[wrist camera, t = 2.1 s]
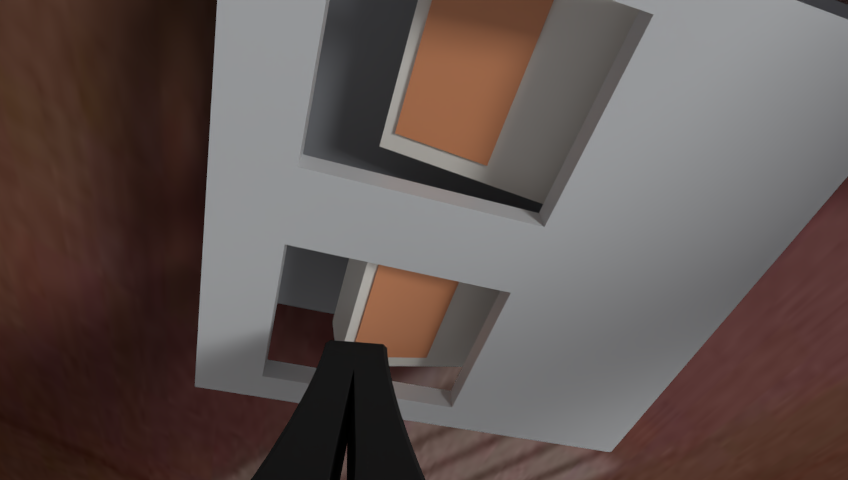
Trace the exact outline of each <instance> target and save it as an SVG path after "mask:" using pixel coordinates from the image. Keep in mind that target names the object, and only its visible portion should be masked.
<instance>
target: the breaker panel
mask: <svg viewBox="0 0 848 480" xmlns="http://www.w3.org/2000/svg"><path fill="white" fill-rule="evenodd" d="M613 1H616V2H619V3H622V4H625V5H628V6H630V7H633V8H636V9H639V12H638V14H637V16H636V18H635V20H634V22H633V24H632V26H631V28H630V30H629V32H628V34H627V36H626V38H625V40H624V42H623V44H622V46H621V48H620V50H619V52H618V54H617V56H616V58H615V60H614V62H613V64H612V66H611V68H610V71H609V73H608V75H607V77H606V79H605V81H604V83H603V85H602V87H601V89H600V91H599V93H598V95H597V97H596V99H595V101H594V103H593V105H592V107H591V109H590V111H589V113H588V115H587V117H586V119H585V121H584V123H583V125H582V127H581V129H580V131H579V133H578V135H577V137H576V139H575V141H574V143H573V145H572V147H571V149H570V151H569V153H568V155H567V157H566V159H565V161H564V163H563V165H562V167H561V169H560V171H559V173H558V175H557V177H556V179H555V181H554V183H553V185H552V187H551V189H550V191H549V194H548V196H547V198H546V200H545V202H544V204H541V203H539V202H536V201H533V200H530V199H527V198H524V197H522V196H519V195H516V194H513V193H510V192H507V191H505V190H502V189H499V188H496V187H493V186H490V185H488V184H485V183H482V182H479V181H476V180H473V179H471V178H468V177H465V176H462V175H459V174H456V173H454V172H451V171H448V170H445V169H442V168H439V167H437V166H434V165H431V164H428V163H425V162H422V161H420V160H417V159H414V158H411V157H408V156H405V155H403V154H400V153H397V152H394V151H391V150H389V149H386V148H383V147H380V142H381V138H382V135H383V131H384V127H385V123H386V119H387V116H388V112H389V108H390V104H391V100H392V97H393V93H394V89H395V85H396V81H397V78H398V74H399V70H400V66H401V63H402V59H403V55H404V51H405V47H406V44H407V40H408V36H409V32H410V28H411V25H412V21H413V17H414V13H415V10H416V6H417V2H418V0H217V13H216V30H215V48H214V65H213V82H212V99H211V116H210V133H209V150H208V168H207V185H206V202H205V219H204V236H203V253H202V270H201V287H200V305H199V322H198V339H197V356H196V373H195V387H201V388H207V389H213V390H220V391H226V392H232V393H239V394H245V395H251V396H258V397H264V398H270V399H277V400H283V401H289V402H296V403H299V402H300V401H301V399H302V397H303V395H304V393H305V392H306V390H307V388H308V386H309V383H310V381H311V379H312V377H313V375H314V373H315V371H316V369H317V368H314V367H308V366H302V365H296V364H290V363H284V362H279V361H273V360H267V358H268V353H269V347H270V341H271V335H272V330H273V324H274V318H275V312H276V307H277V303H279V304H285V305H290V306H295V307H300V308H305V309H310V310H316V311H321V312H326V313H331V314H335V310H336V306H337V303H338V299H339V295H340V291H341V287H342V284H343V280H344V276H345V272H346V268H347V265H348V261H349V258H351V259H355V260H360V261H365V262H369V263H374V264H379V265H383V266H388V267H393V268H397V269H402V270H406V271H411V272H416V273H420V274H425V275H430V276H434V277H439V278H444V279H448V280H453V281H458V282H462V283H467V284H472V285H476V286H481V287H486V288H490V289H495V290H500V292H499V294H498V296H497V298H496V300H495V302H494V304H493V306H492V308H491V310H490V312H489V314H488V317H487V319H486V321H485V323H484V325H483V327H482V329H481V331H480V333H479V335H478V337H477V339H476V341H475V343H474V345H473V347H472V349H471V351H470V353H469V355H468V357H467V359H466V361H465V363H464V365H463V367H462V369H461V371H460V373H459V375H458V377H457V379H456V381H455V383H454V385H453V387H452V389H451V391H447V390H442V389H436V388H430V387H424V386H418V385H413V384H407V383H401V382H395V381H392V383H393V387H394V391H395V395H396V399H397V402H398V406H399V409H400V412H401V415H402V418H403V420H410V421H416V422H422V423H429V424H435V425H441V426H448V427H454V428H460V429H467V430H473V431H479V432H486V433H492V434H498V435H505V436H511V437H517V438H524V439H530V440H536V441H543V442H549V443H555V444H562V445H568V446H574V447H581V448H587V449H593V450H600V451H606V452H611V451H612V450H613V449H614V448H615V447H616V445H617V444H618V443H619V442H620V441H621V440H622V438H623V437H624V436H625V435H626V434H627V433H628V431H629V430H630V429H631V428H632V427H633V426H634V424H635V423H636V422H637V421H638V420H639V419H640V417H641V416H642V415H643V414H644V413H645V412H646V410H647V409H648V408H649V407H650V406H651V405H652V403H653V402H654V401H655V400H656V399H657V398H658V396H659V395H660V394H661V393H662V392H663V391H664V389H665V388H666V387H667V386H668V385H669V384H670V383H671V381H672V380H673V379H674V378H675V377H676V376H677V374H678V373H679V372H680V371H681V370H682V369H683V367H684V366H685V365H686V364H687V363H688V362H689V360H690V359H691V358H692V357H693V356H694V355H695V353H696V352H697V351H698V350H699V349H700V348H701V346H702V345H703V344H704V343H705V342H706V341H707V339H708V338H709V337H710V336H711V335H712V334H713V332H714V331H715V330H716V329H717V328H718V327H719V325H720V324H721V323H722V322H723V321H724V320H725V319H726V317H727V316H728V315H729V314H730V313H731V312H732V310H733V309H734V308H735V307H736V306H737V305H738V303H739V302H740V301H741V300H742V299H743V298H744V296H745V295H746V294H747V293H748V292H749V291H750V289H751V288H752V287H753V286H754V285H755V284H756V282H757V281H758V280H759V279H760V278H761V277H762V275H763V274H764V273H765V272H766V271H767V270H768V268H769V267H770V266H771V265H772V264H773V263H774V261H775V260H776V259H777V258H778V257H779V256H780V254H781V253H782V252H783V251H784V250H785V249H786V248H787V246H788V245H789V244H790V243H791V242H792V241H793V239H794V238H795V237H796V236H797V235H798V234H799V232H800V231H801V230H802V229H803V228H804V227H805V225H806V224H807V223H808V222H809V221H810V220H811V218H812V217H813V216H814V215H815V214H816V213H817V211H818V210H819V209H820V208H821V207H822V206H823V204H824V203H825V202H826V201H827V200H828V199H829V197H830V196H831V195H832V194H833V193H834V192H835V190H836V189H837V188H838V187H839V186H840V185H841V184H842V182H843V181H844V180H845V179H846V178H847V177H848V5H847V4H844V3H842V2H839V1H836V0H613Z"/></svg>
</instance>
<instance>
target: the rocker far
mask: <svg viewBox="0 0 848 480" xmlns="http://www.w3.org/2000/svg"><path fill="white" fill-rule="evenodd" d="M499 292H500V290H495V289H490V288H486V287H481V286H476V285H472V284H467V283H462V282H458V281H453V280H448V279H444V278H439V277H434V276H430V275H425V274H420V273H416V272H411V271H406V270H402V269H397V268H393V267H388V266H383V265H379V264H374V263H369V262H365V261H360V260H355V259H351V258H349V261H348V265H347V268H346V272H345V276H344V280H343V284H342V287H341V291H340V295H339V299H338V303H337V306H336V310H335V314H334V318H333V322H332V323H333V332H334V340H335V341H349V342H362V343H375V344H384V345H385V346H386V347H387V354H388V362H389V366H449V367H463V365H464V363H465V361H466V359H467V357H468V355H469V353H470V351H471V349H472V347H473V345H474V343H475V341H476V339H477V337H478V335H479V333H480V331H481V329H482V327H483V325H484V323H485V321H486V319H487V317H488V314H489V312H490V310H491V308H492V306H493V304H494V302H495V300H496V298H497V296H498V294H499Z"/></svg>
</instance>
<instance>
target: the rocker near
mask: <svg viewBox="0 0 848 480" xmlns="http://www.w3.org/2000/svg"><path fill="white" fill-rule="evenodd" d="M638 12H639V9H636V8H633V7H630V6H628V5H625V4H622V3H619V2H616V1H613V0H418V2H417V6H416V10H415V13H414V17H413V21H412V25H411V28H410V32H409V36H408V40H407V44H406V47H405V51H404V55H403V59H402V63H401V66H400V70H399V74H398V78H397V81H396V85H395V89H394V93H393V97H392V100H391V104H390V108H389V112H388V116H387V119H386V123H385V127H384V131H383V135H382V138H381V142H380V147H383V148H386V149H389V150H391V151H394V152H397V153H400V154H403V155H405V156H408V157H411V158H414V159H417V160H420V161H422V162H425V163H428V164H431V165H434V166H437V167H439V168H442V169H445V170H448V171H451V172H454V173H456V174H459V175H462V176H465V177H468V178H471V179H473V180H476V181H479V182H482V183H485V184H488V185H490V186H493V187H496V188H499V189H502V190H505V191H507V192H510V193H513V194H516V195H519V196H522V197H524V198H527V199H530V200H533V201H536V202H539V203H541V204H544V202H545V200H546V198H547V196H548V194H549V191H550V189H551V187H552V185H553V183H554V181H555V179H556V177H557V175H558V173H559V171H560V169H561V167H562V165H563V163H564V161H565V159H566V157H567V155H568V153H569V151H570V149H571V147H572V145H573V143H574V141H575V139H576V137H577V135H578V133H579V131H580V129H581V127H582V125H583V123H584V121H585V119H586V117H587V115H588V113H589V111H590V109H591V107H592V105H593V103H594V101H595V99H596V97H597V95H598V93H599V91H600V89H601V87H602V85H603V83H604V81H605V79H606V77H607V75H608V73H609V71H610V68H611V66H612V64H613V62H614V60H615V58H616V56H617V54H618V52H619V50H620V48H621V46H622V44H623V42H624V40H625V38H626V36H627V34H628V32H629V30H630V28H631V26H632V24H633V22H634V20H635V18H636V16H637V14H638Z"/></svg>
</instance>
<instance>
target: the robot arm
mask: <svg viewBox="0 0 848 480" xmlns="http://www.w3.org/2000/svg"><path fill="white" fill-rule="evenodd" d="M346 446H347V480H425V478H424V475H423V473H422V470H421V468H420V466H419V463H418V461H417V458H416V455H415V453H414V450H413V448H412V445H411V442H410V439H409V437H408V434H407V431H406V428H405V425H404V422H403V418H402V415H401V412H400V409H399V406H398V402H397V399H396V395H395V391H394V387H393V383H392V378H391V374H390V368H389V362H388V354H387V347H386V346H385V345H384V344H375V343H362V342H349V341H335V340H330V341H329V342H327V343H326V344H325V347H324V351H323V354H322V356H321V359H320V361H319V364H318V366H317V369H316V371H315V373H314V375H313V377H312V379H311V381H310V383H309V386H308V388H307V390H306V392H305V393H304V395H303V397H302V399H301V401H300V402H299V404H298V406H297V408H296V410H295V412H294V413H293V415H292V417H291V419H290V420H289V422H288V424H287V425H286V427H285V429H284V430H283V432H282V433H281V435H280V437H279V438H278V440H277V441H276V443H275V445H274V446H273V448H272V449H271V451H270V453H269V454H268V456H267V457H266V459H265V460H264V462H263V463H262V464H261V466H260V467H259V469H258V470H257V472H256V473H255V475H254V476H253V477H252V479H251V480H340V477H341V472H342V466H343V461H344V456H345V451H346Z"/></svg>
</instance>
